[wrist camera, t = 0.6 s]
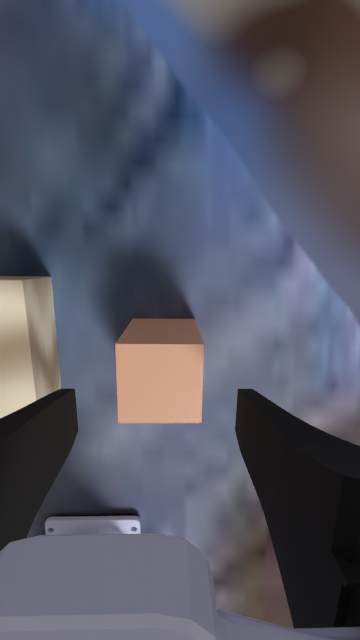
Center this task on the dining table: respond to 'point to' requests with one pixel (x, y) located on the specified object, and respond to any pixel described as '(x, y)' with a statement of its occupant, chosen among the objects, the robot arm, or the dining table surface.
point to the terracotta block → (160, 371)
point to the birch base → (27, 342)
